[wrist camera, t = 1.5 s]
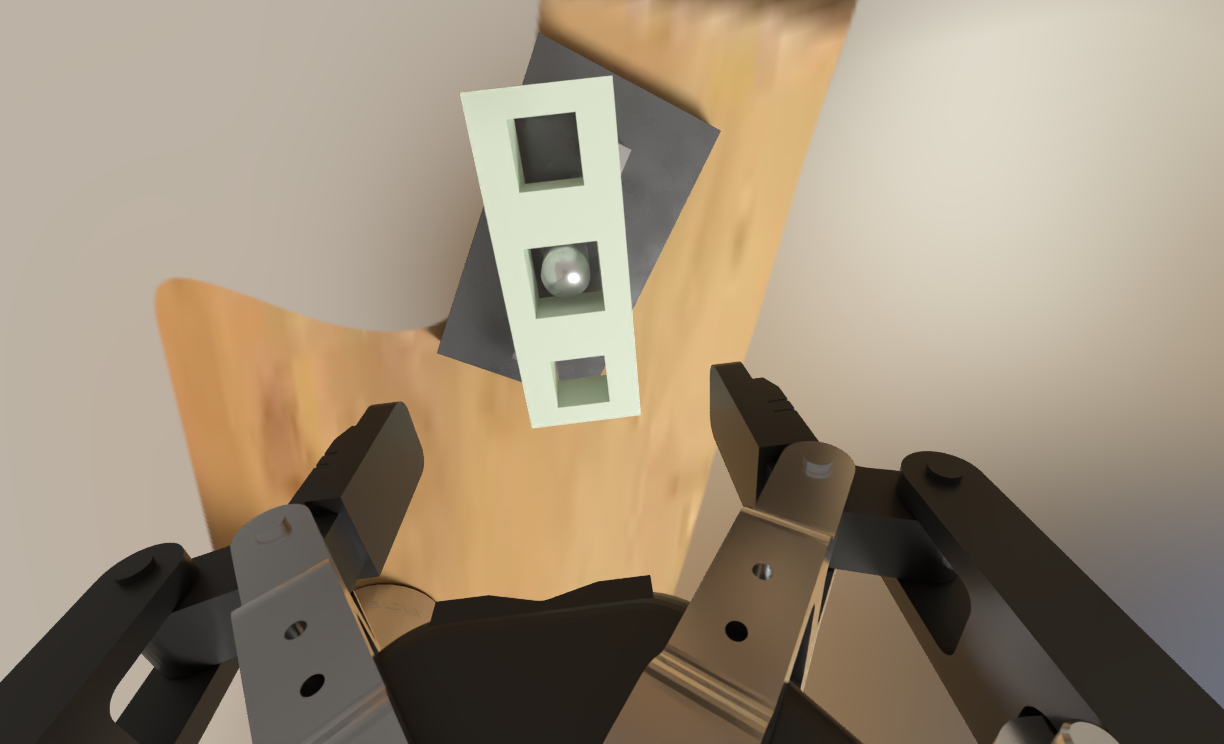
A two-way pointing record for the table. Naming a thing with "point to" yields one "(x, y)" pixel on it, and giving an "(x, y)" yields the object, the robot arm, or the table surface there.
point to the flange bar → (555, 220)
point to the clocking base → (549, 149)
